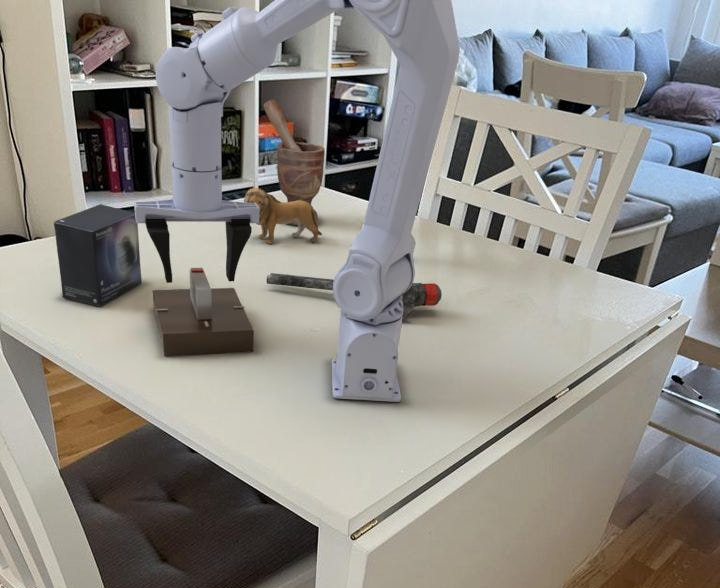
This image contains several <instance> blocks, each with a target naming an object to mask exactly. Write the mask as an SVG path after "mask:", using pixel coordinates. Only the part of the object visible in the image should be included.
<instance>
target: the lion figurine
mask: <svg viewBox="0 0 720 588" xmlns="http://www.w3.org/2000/svg"><path fill="white" fill-rule="evenodd" d="M243 202H244V203H256V204H257V205H258V207H259V223H255V224H256V225H258V226H260V228H261V234H259V235H258V239H259V240H264V239H265V243H266V244H269V245H271V244H273V243H274V241H275V229H276V226H277V225H287V224H288V223H290V222H292V221H294V220H296V222H297V225H296V226H297V230H296V232H292V233H291V237H292V238H299V237H300V235H301V234H302V233H303V232H304V231H305V229H307V231H309V232H310V233H311V234H312V235H313V236H312V237H310V239H309V241H310V242H311V243H317V242H318V239H319V236H323V233H322V232H321V231H320V230H319V226H318V225H319V224H318V222H317V217H316V213H315V211H316V210H315V209H314V207H313V205H312V204H311V205H312V206H311V205H310V204H309V203H308V202H306V201H301V200H298V201H293V202H287V201H286V202H282V201H280V200H278V199H277V198H276V197H275V196H274V195H273V194H270V193H268V192H266V191H265V190H263V189H262V188H258V187H253V188H250V189H248V190H247V192H246V193H245V195H244V198H243ZM314 210H315V211H314ZM311 213H312V217H313V221H314V224H313V222H312V218H311ZM288 225H289V224H288ZM266 238H267V239H266Z"/></svg>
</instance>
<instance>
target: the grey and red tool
mask: <svg viewBox="0 0 720 588" xmlns="http://www.w3.org/2000/svg"><path fill="white" fill-rule="evenodd" d="M333 282H334V278H332V279H331V278H323V277H312V276H302V275H293V274H284V273H275V272H274V273H273V272H270V274H267V276H266V285H276V286H284V287H285V286H286V287H295V288H304V289H314V290H322V291H332V292H333ZM442 294H443V291H442V289H441V288H440V286H439V285H438V284H436V283H435V282H434V283H433V282H432V283H422V282H413V284H412V286H411V287H410V289H409V290H408V291H407V292H406V293H404V294H403V296H402V302H403V317H402V320H403V319H404V318H406V317H408V315H409V314H410V313H411V312H412V310H413V309H414V307H415V308H416V307H417V308H418V307H430V306H431V307H433V306H436V305H438V304H439V302H440V301H441V300H442V297H443V295H442Z"/></svg>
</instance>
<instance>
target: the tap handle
mask: <svg viewBox="0 0 720 588" xmlns="http://www.w3.org/2000/svg"><path fill="white" fill-rule="evenodd" d="M188 271H189V289H190V297H191V301H192V304H193V307H194V310H195V313H196V316H197V319H198V320H207V319H212V295H211V288H212V287H211V285H210V283H209V280H208V278H207V275H206V272H205V270H204V268H203V267H190V268H189V270H188Z"/></svg>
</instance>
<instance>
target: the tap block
mask: <svg viewBox="0 0 720 588" xmlns="http://www.w3.org/2000/svg"><path fill="white" fill-rule="evenodd" d="M151 292H152V302H153V303H152V305H153V313H154V317H155V323H156V327H157V330H158V331H157V332H158V334H159V340H160V344H161V349H162V351H163V356H164V357H178V356H181V357H183V356H199V355H217V354H218V355H219V354H237V353H252V352H254V333H255V332H254V329H253V326H252V324H251V321H250V319H249V317H248V315H247V313H246V310H245V305H243V304H242V302H241V300H240V298H239V296H238V293H237V291H236V289H235V287H217V288H216V287H215V288H212V287H211V295H212V319H207V320H198V319H197V316H196V313H195V310H194V307H193V304H192V301H191V297H190V288H180V289H179V288H177V289H174V288H173V289H152V291H151Z"/></svg>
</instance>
